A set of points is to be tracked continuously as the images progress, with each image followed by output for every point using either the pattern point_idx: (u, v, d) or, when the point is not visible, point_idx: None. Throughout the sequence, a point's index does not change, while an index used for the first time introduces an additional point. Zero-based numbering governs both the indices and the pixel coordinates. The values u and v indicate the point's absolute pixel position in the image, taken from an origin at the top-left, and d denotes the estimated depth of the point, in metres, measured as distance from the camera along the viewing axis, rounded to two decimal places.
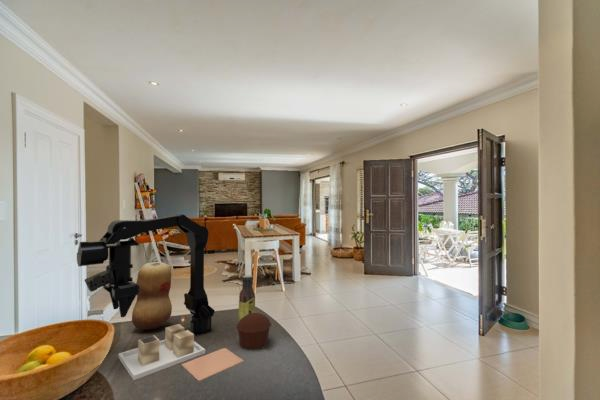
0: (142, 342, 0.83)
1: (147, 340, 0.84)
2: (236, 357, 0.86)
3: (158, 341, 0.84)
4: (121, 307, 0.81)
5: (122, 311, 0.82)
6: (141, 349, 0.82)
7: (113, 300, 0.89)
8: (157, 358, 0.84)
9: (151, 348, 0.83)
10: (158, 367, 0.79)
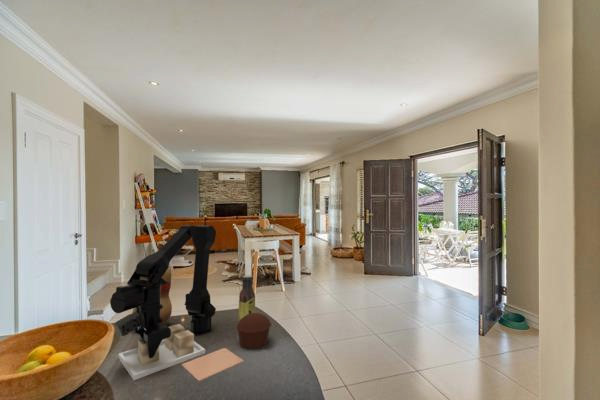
0: (142, 342, 0.83)
1: None
2: (236, 357, 0.86)
3: None
4: (150, 348, 0.81)
5: (151, 352, 0.82)
6: (141, 349, 0.82)
7: None
8: (157, 358, 0.84)
9: None
10: (158, 367, 0.79)
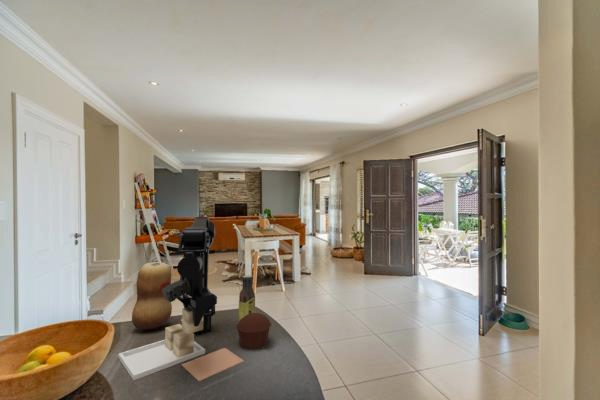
0: (187, 310, 0.82)
1: (191, 309, 0.83)
2: (236, 357, 0.86)
3: None
4: (195, 316, 0.81)
5: (196, 320, 0.81)
6: (186, 317, 0.81)
7: None
8: (201, 327, 0.83)
9: None
10: (158, 367, 0.79)
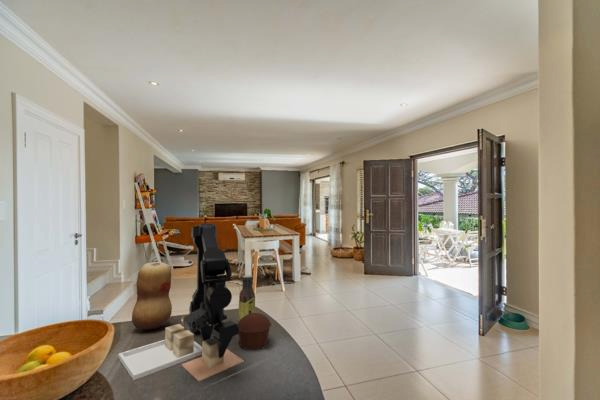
0: (207, 344, 0.81)
1: (212, 342, 0.82)
2: (236, 357, 0.86)
3: None
4: (220, 348, 0.79)
5: (221, 352, 0.79)
6: (207, 351, 0.81)
7: (204, 338, 0.86)
8: (222, 360, 0.83)
9: (217, 350, 0.81)
10: (158, 367, 0.79)
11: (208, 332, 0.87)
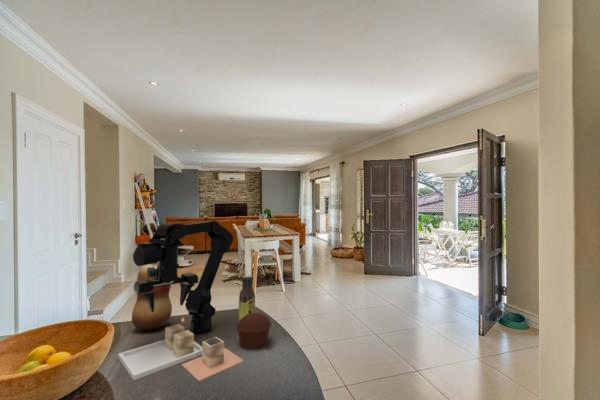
0: (207, 344, 0.81)
1: (212, 342, 0.82)
2: (236, 357, 0.86)
3: (223, 343, 0.83)
4: (148, 302, 0.90)
5: (150, 306, 0.90)
6: (207, 351, 0.81)
7: (180, 296, 0.97)
8: (222, 360, 0.83)
9: (217, 350, 0.81)
10: (158, 367, 0.79)
11: (182, 293, 0.96)
